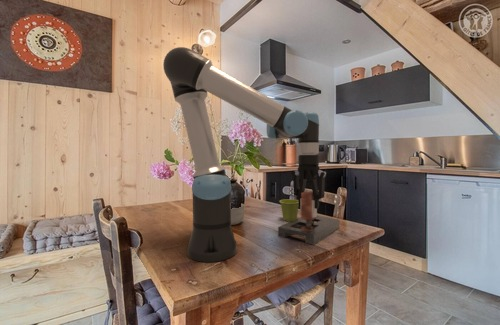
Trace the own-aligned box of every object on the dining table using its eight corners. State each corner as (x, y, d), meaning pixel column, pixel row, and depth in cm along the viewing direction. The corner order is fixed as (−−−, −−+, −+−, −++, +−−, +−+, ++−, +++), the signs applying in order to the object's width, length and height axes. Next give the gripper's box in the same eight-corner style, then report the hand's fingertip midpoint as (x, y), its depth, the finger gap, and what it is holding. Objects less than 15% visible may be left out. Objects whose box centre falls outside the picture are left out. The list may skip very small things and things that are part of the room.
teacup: (240, 227, 101) (240, 208, 100) (215, 225, 103) (215, 207, 102) (247, 218, 114) (247, 201, 114) (225, 217, 116) (225, 200, 116)
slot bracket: (278, 236, 90) (278, 226, 90) (307, 221, 108) (307, 214, 108) (313, 244, 81) (313, 234, 81) (339, 227, 99) (339, 219, 99)
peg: (298, 232, 92) (298, 192, 92) (305, 228, 97) (305, 190, 96) (312, 235, 89) (312, 194, 88) (318, 231, 93) (318, 192, 93)
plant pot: (278, 222, 108) (278, 202, 108) (280, 216, 117) (280, 198, 117) (299, 223, 106) (299, 203, 106) (300, 217, 115) (300, 199, 115)
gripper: (334, 154, 89) (334, 217, 90) (293, 154, 100) (293, 210, 101) (326, 154, 83) (326, 221, 84) (283, 154, 94) (284, 214, 95)
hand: (308, 215), depth 93 cm, fingers closed on peg, 4 cm apart
